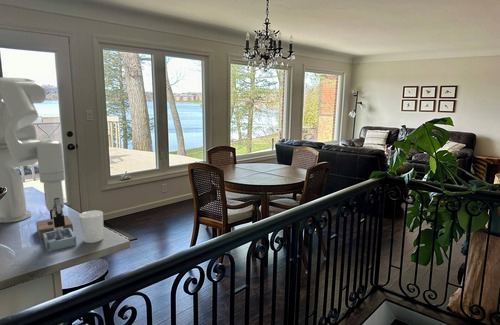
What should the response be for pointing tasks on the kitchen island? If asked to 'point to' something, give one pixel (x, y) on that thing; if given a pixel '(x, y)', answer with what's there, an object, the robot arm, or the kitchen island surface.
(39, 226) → the socket block
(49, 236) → the tray
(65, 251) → the kitchen island surface
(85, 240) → the white cup
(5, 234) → the kitchen island surface
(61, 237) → the pin
